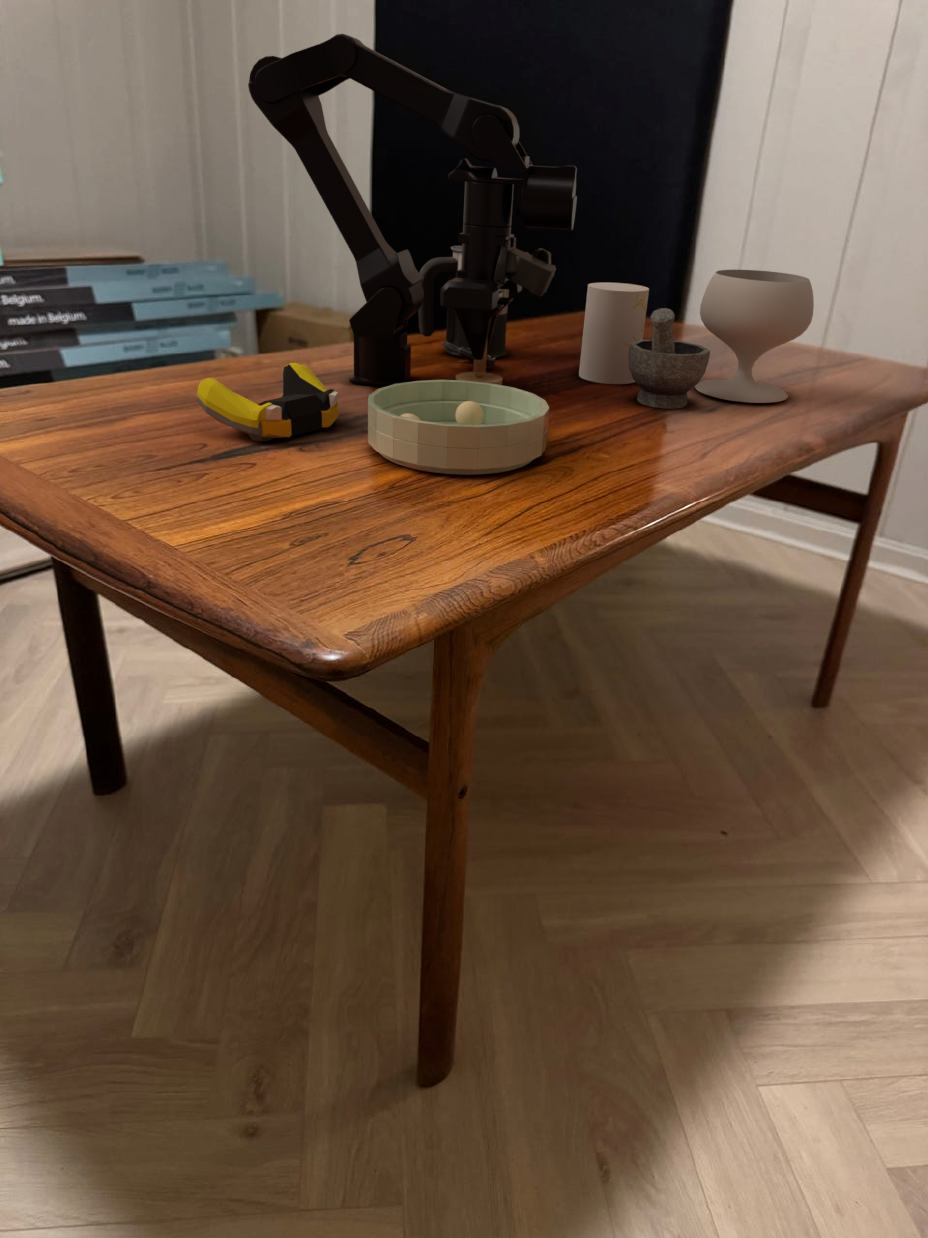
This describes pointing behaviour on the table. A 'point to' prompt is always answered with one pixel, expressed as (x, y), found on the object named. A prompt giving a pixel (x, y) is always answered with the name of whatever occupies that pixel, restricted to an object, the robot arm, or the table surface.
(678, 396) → the mortar and pestle
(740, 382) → the chalice
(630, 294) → the tall cream tube
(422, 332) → the milk frother
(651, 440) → the table surface
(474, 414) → the dumpling
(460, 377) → the stirrer
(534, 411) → the bowl
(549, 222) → the robot arm
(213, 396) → the gaming controller
